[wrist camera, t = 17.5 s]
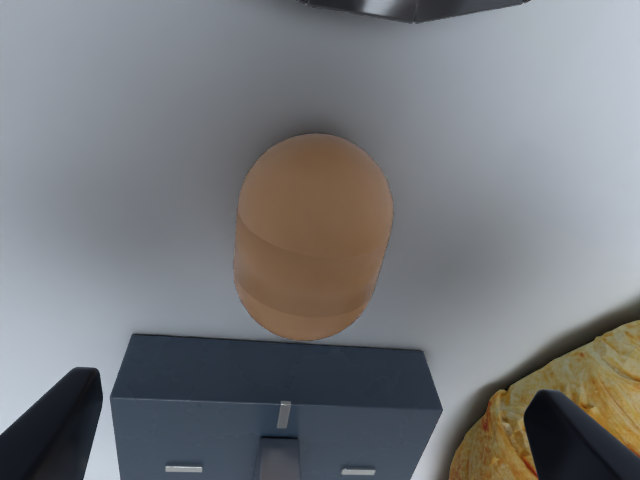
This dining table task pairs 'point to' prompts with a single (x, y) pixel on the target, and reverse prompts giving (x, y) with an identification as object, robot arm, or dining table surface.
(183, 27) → the dining table surface
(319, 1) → the egg pan
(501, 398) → the croissant
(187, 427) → the hob control
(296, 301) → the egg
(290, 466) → the hob knob
